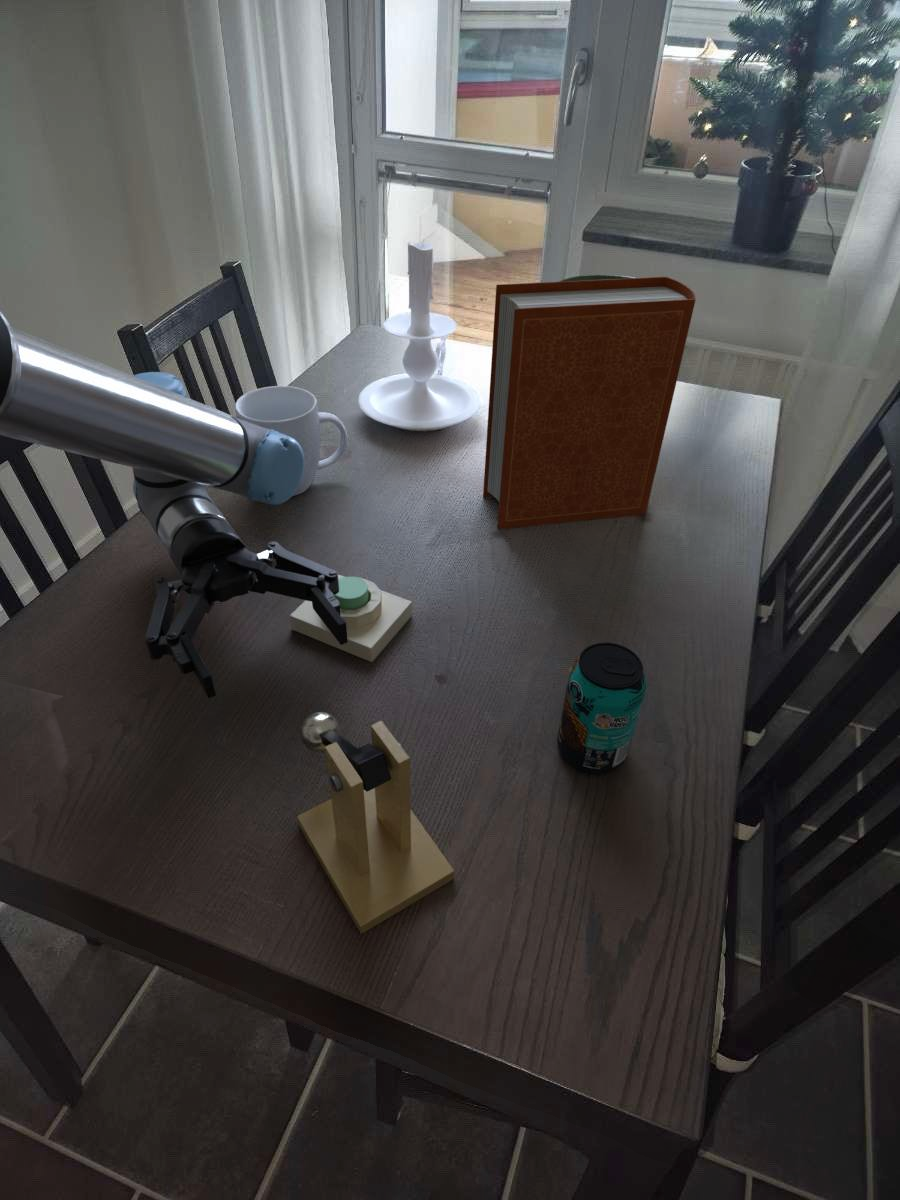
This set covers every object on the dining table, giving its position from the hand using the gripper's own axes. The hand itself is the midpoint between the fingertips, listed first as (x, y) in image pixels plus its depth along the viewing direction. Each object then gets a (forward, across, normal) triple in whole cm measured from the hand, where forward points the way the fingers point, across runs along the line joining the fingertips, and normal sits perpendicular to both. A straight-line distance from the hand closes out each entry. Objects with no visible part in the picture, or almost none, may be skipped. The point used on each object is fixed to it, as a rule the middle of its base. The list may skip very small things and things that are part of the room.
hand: (279, 659), depth 72 cm
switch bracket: (+18, 0, -9) cm, 20 cm away
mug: (-41, -19, -9) cm, 46 cm away
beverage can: (+19, -24, -9) cm, 32 cm away
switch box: (-10, -12, -8) cm, 18 cm away
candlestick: (-51, -48, -9) cm, 70 cm away
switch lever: (+14, 0, -1) cm, 14 cm away
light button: (-10, -12, -5) cm, 16 cm away
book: (-16, -50, -9) cm, 53 cm away
